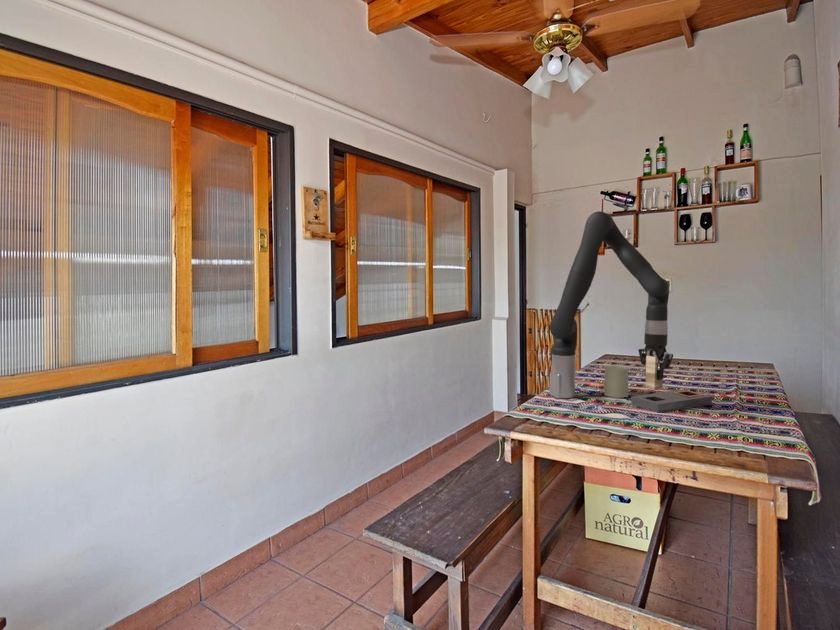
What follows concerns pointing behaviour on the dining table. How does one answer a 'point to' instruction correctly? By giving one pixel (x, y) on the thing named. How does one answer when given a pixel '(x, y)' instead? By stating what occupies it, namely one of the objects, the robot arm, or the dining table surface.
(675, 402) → the grey slotted board
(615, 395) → the can
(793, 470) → the dining table surface
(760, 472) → the dining table surface
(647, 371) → the peg
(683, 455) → the dining table surface
